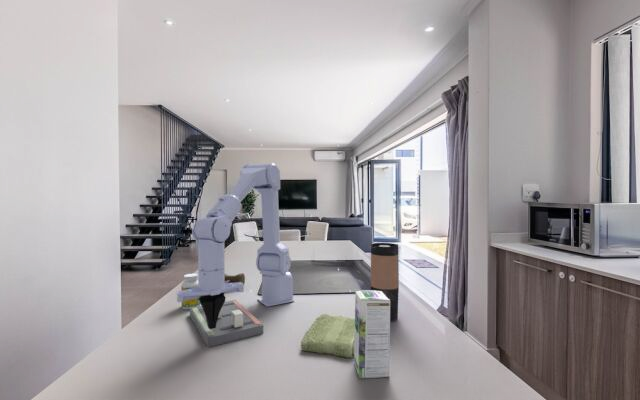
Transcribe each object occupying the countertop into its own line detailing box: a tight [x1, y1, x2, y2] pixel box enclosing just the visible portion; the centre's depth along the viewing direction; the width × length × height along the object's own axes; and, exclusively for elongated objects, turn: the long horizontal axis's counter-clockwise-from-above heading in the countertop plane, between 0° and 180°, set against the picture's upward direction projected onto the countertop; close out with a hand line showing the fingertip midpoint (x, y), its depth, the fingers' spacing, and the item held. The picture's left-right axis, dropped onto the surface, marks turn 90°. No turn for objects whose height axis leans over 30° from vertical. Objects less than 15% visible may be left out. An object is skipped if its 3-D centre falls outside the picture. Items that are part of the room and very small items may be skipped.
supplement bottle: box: [180, 273, 202, 310], centre depth 93 cm, size 5×5×10 cm
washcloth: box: [299, 313, 355, 359], centre depth 72 cm, size 13×18×3 cm
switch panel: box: [189, 299, 264, 348], centre depth 80 cm, size 13×22×2 cm, turn 32°
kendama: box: [225, 272, 246, 285], centre depth 109 cm, size 6×10×20 cm
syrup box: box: [353, 289, 391, 379], centre depth 59 cm, size 6×6×14 cm
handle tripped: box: [231, 310, 243, 328], centre depth 74 cm, size 2×3×3 cm, turn 32°
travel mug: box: [370, 242, 400, 322], centre depth 85 cm, size 8×8×20 cm
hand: (211, 327), depth 71 cm, fingers closed
